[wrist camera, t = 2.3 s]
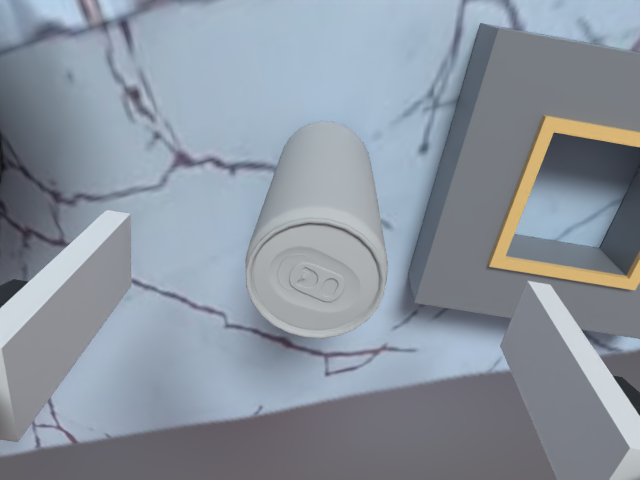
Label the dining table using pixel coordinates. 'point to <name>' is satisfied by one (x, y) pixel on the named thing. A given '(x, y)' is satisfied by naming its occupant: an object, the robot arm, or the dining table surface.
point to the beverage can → (319, 237)
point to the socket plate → (530, 182)
